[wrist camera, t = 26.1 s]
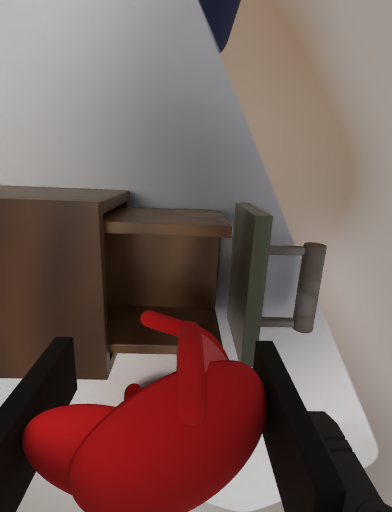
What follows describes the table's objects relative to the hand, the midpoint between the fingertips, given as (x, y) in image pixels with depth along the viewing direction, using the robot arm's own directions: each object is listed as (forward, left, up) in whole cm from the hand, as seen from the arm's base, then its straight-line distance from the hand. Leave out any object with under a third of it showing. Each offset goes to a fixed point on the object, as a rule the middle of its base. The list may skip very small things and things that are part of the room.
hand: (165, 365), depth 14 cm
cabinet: (+11, -6, -17) cm, 21 cm away
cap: (0, 0, 0) cm, 0 cm away
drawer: (-1, +1, -16) cm, 16 cm away
